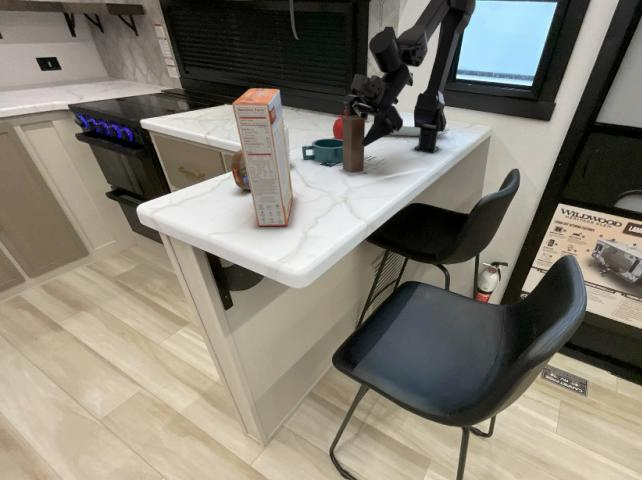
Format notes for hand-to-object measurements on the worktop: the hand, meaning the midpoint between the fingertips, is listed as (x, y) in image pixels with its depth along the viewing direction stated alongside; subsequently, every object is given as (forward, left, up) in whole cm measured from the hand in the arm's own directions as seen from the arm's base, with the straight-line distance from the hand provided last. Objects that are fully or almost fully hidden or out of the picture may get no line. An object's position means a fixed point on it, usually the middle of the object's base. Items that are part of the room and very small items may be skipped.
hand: (352, 140), depth 84 cm
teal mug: (-5, -11, -8) cm, 14 cm away
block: (0, 0, -8) cm, 8 cm away
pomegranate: (-27, -16, -8) cm, 32 cm away
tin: (+20, -16, -8) cm, 27 cm away
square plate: (-54, -5, -8) cm, 55 cm away
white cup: (+8, -19, -8) cm, 22 cm away
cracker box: (+30, -2, -8) cm, 31 cm away
